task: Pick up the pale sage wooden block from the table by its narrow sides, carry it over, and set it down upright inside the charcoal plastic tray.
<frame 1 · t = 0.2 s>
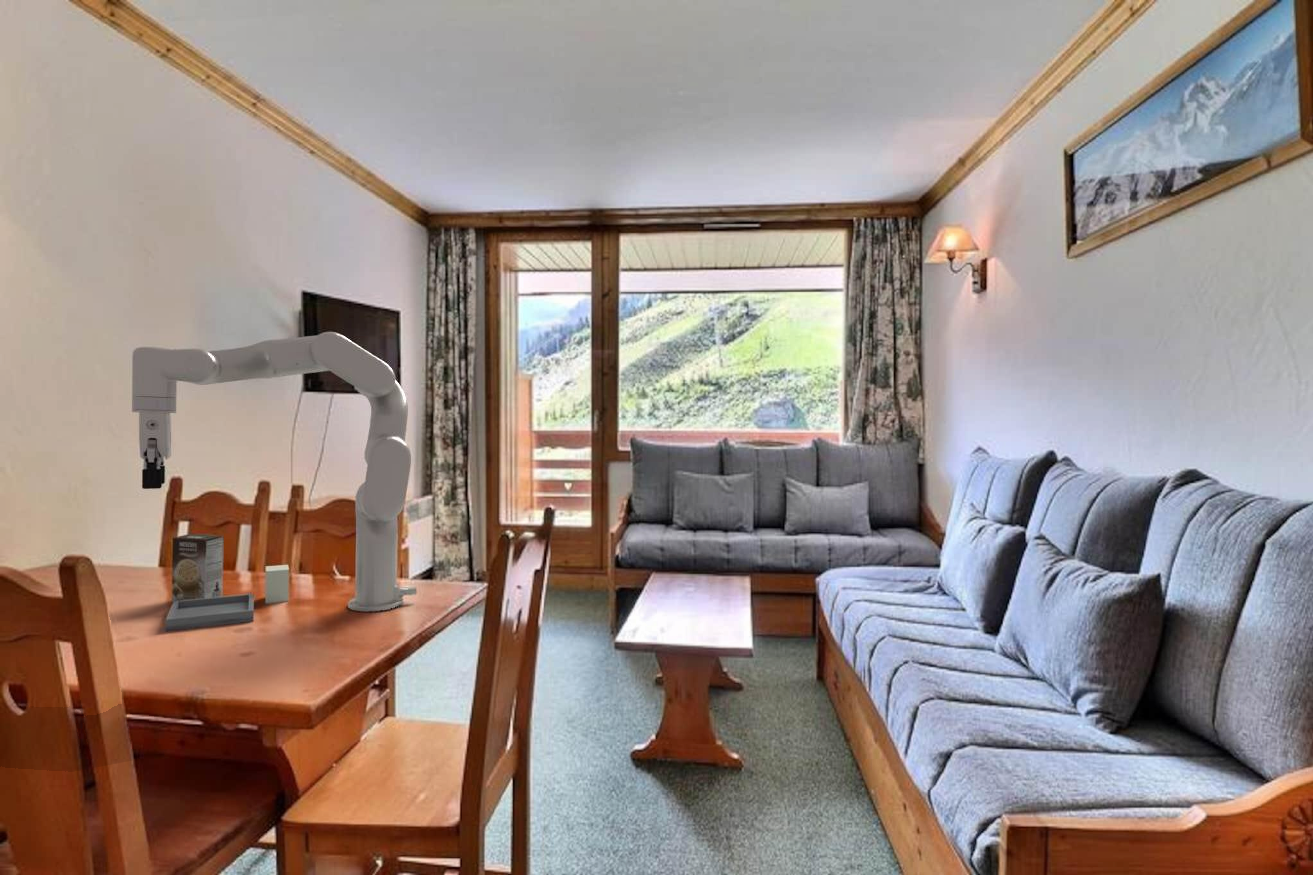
hand: (153, 486, 141), 31 cm above the table, tool pointing down, fingers open, 9 cm apart
tray: (212, 616, 152), on the table
sage block: (276, 599, 167), on the table
coffee box: (197, 601, 164), on the table
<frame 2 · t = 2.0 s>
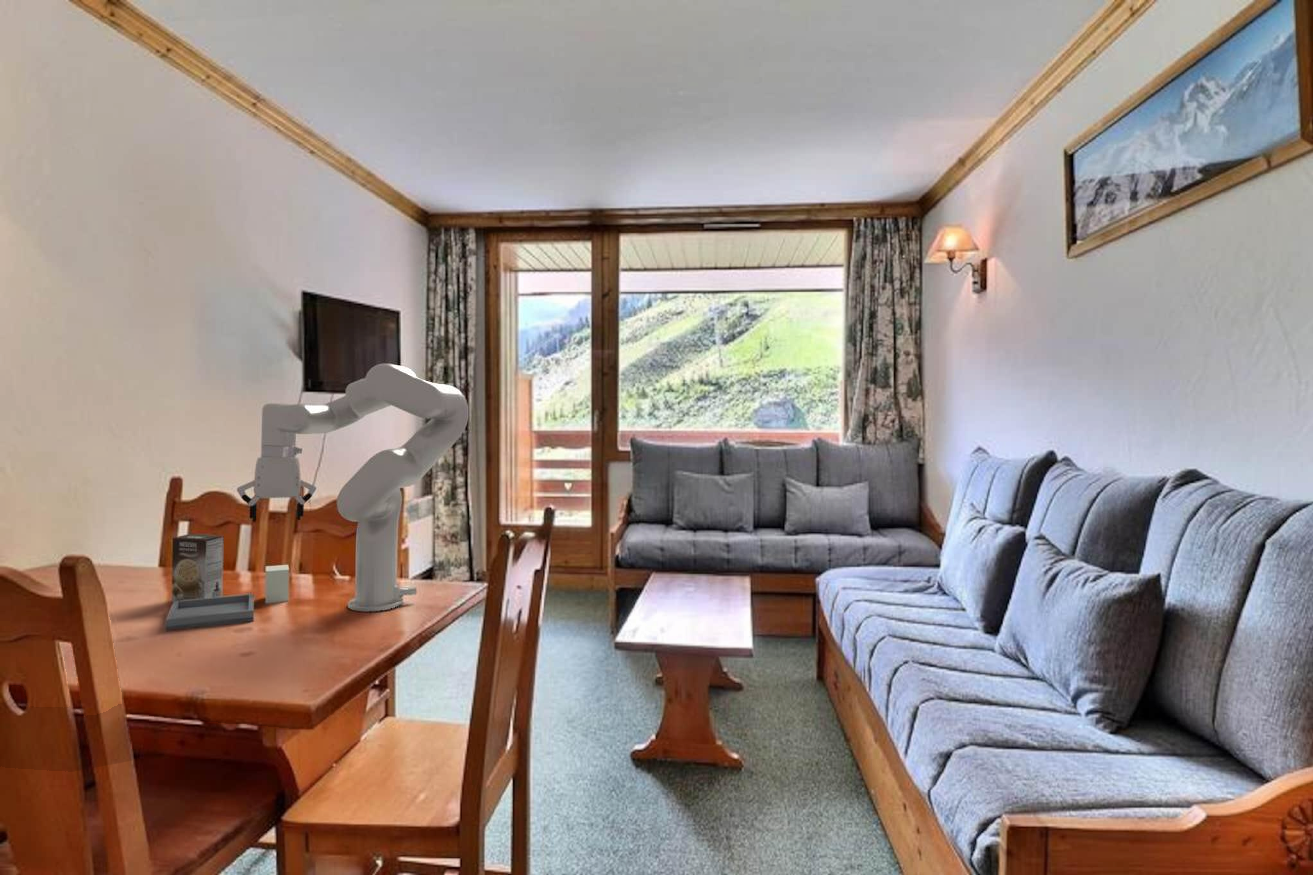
hand: (276, 520, 167), 20 cm above the table, tool pointing down, fingers open, 9 cm apart
nothing on the table moved.
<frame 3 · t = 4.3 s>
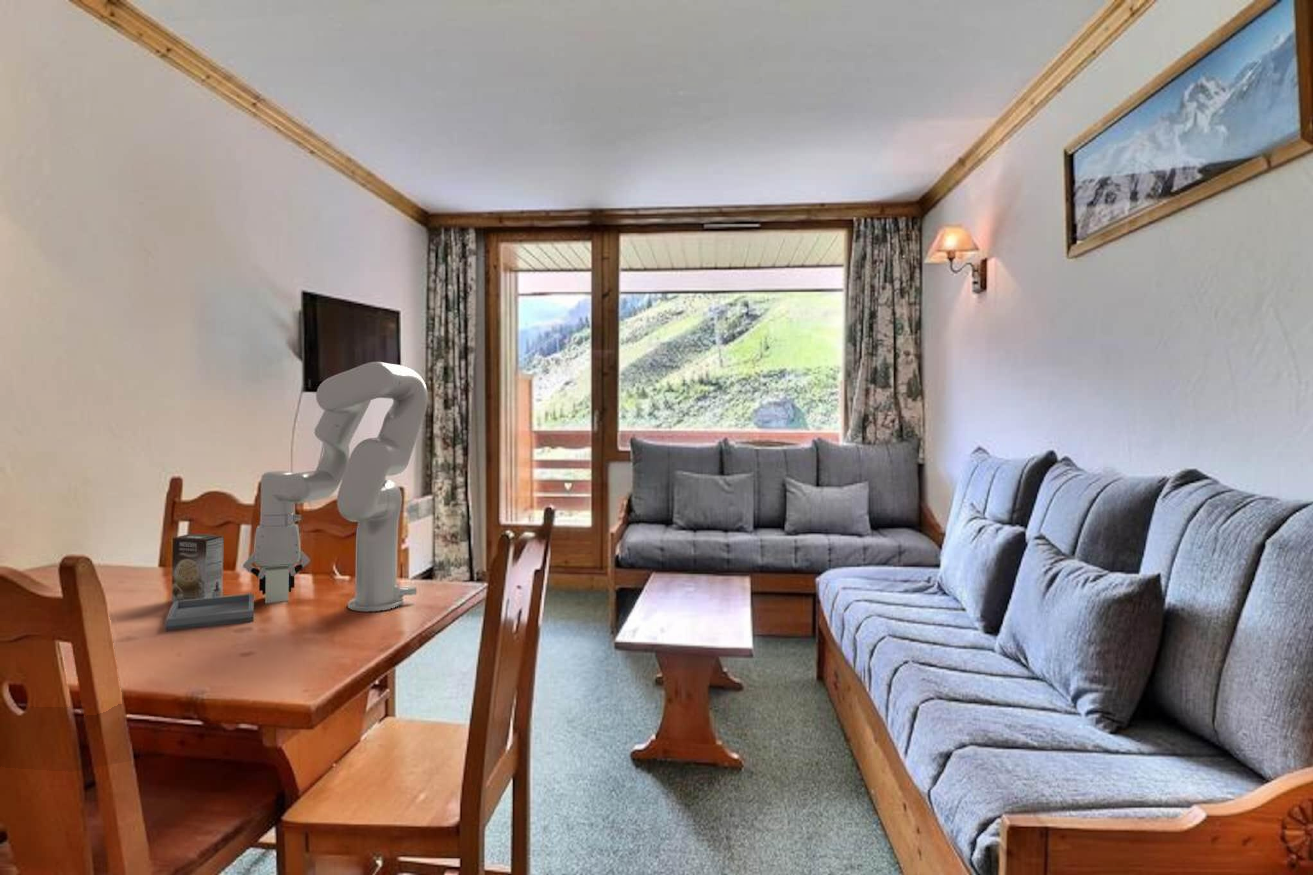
hand: (276, 591, 167), 2 cm above the table, tool pointing down, fingers closed on sage block, 5 cm apart
sage block: (276, 599, 167), on the table, touching gripper
everything else where it was.
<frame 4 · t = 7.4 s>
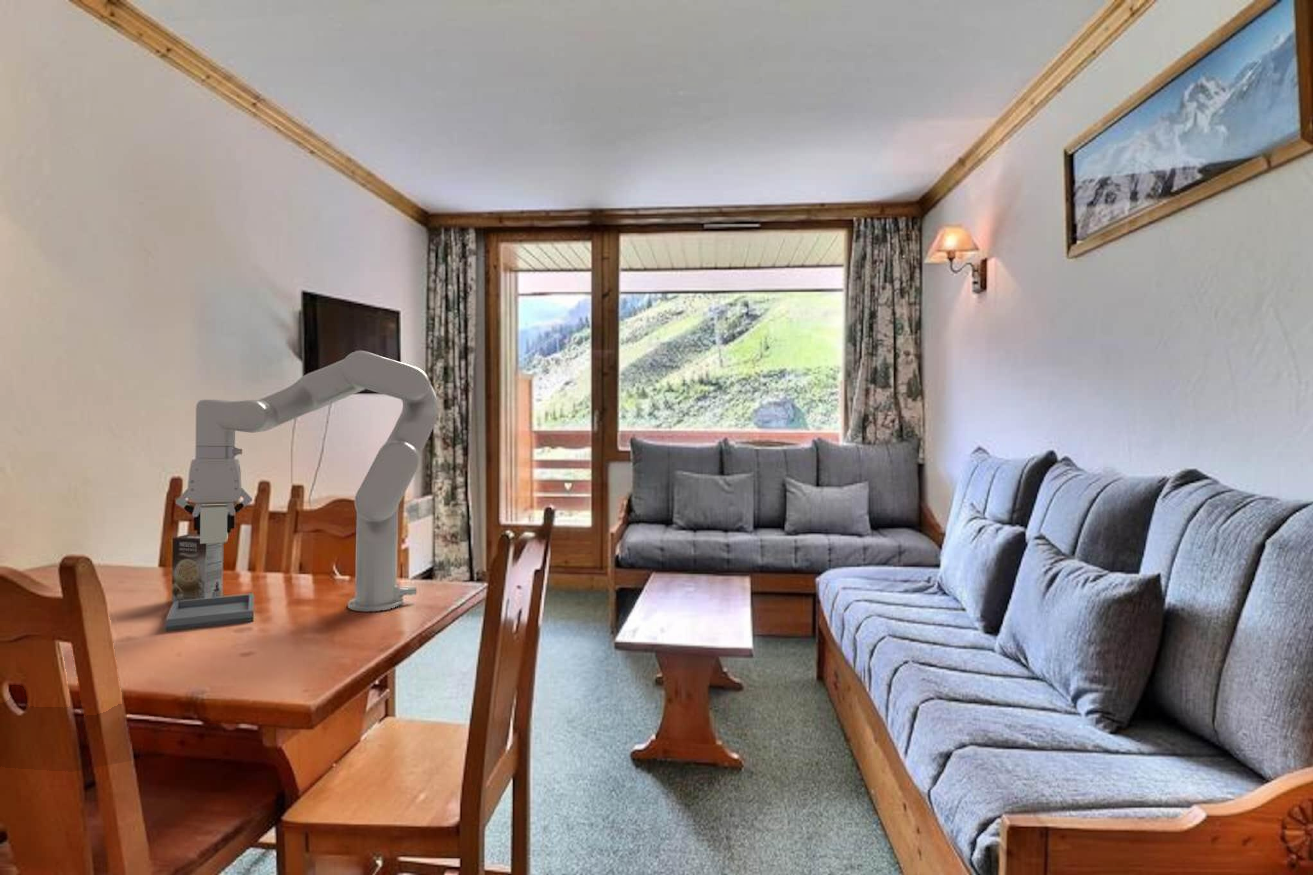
hand: (214, 532, 152), 19 cm above the table, tool pointing down, fingers closed on sage block, 5 cm apart
sage block: (214, 540, 152), point 17 cm above the table, touching gripper
everything else where it was.
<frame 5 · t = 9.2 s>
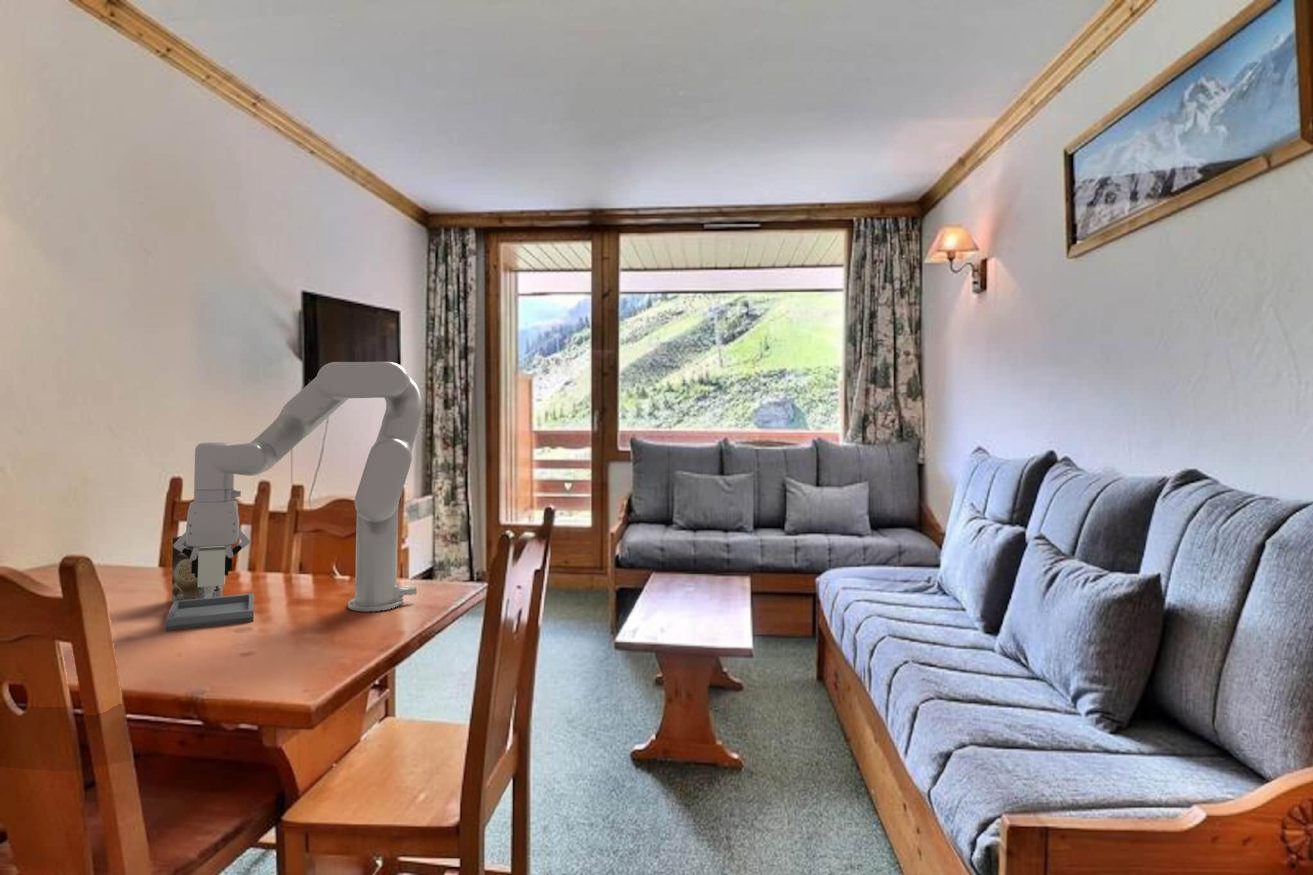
hand: (211, 574, 152), 10 cm above the table, tool pointing down, fingers closed on sage block, 5 cm apart
sage block: (211, 583, 152), point 8 cm above the table, touching gripper
everything else where it was.
when the fingers open (4 cm above the table, at t = 10.6 s): sage block drops 1 cm, resting on tray.
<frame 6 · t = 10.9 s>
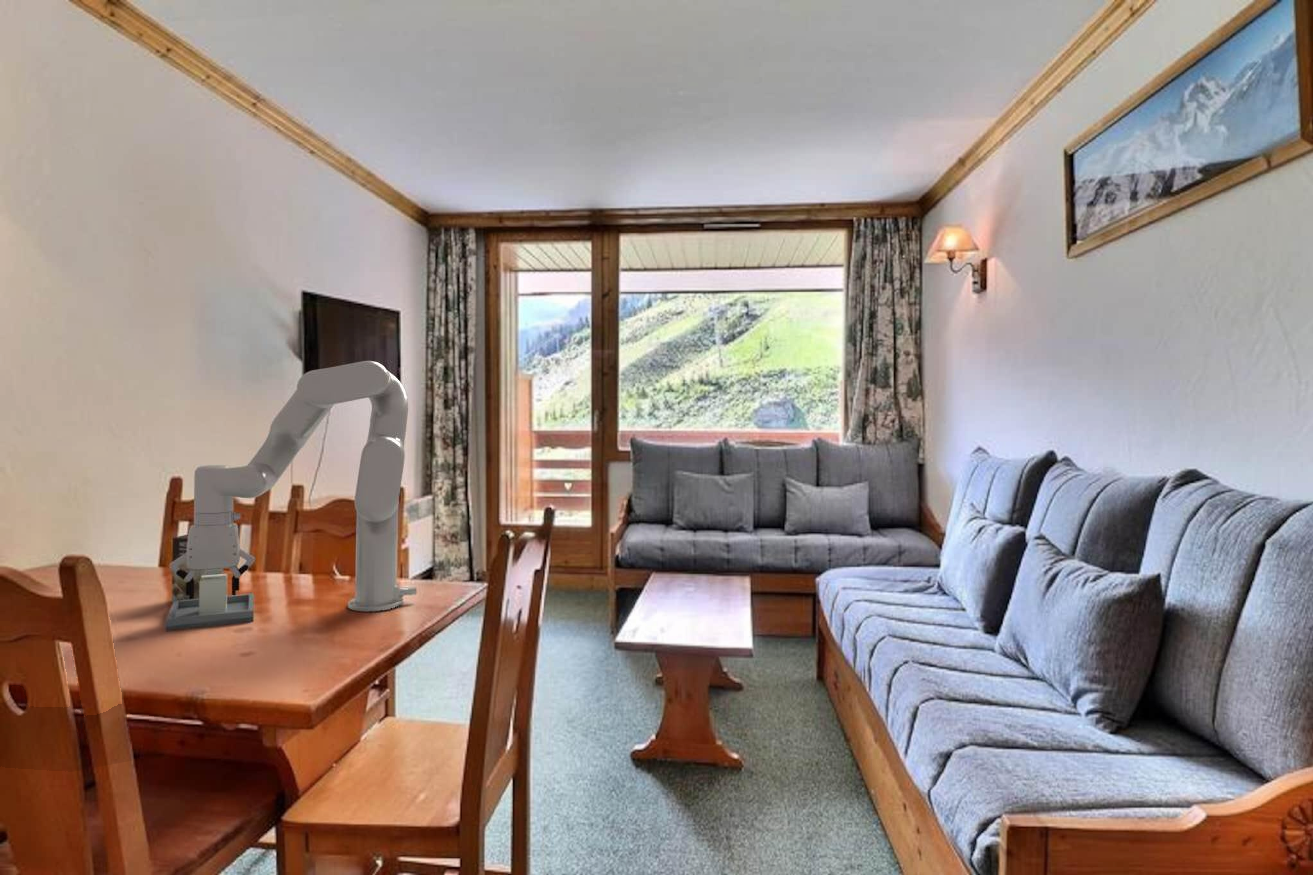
hand: (213, 595, 152), 5 cm above the table, tool pointing down, fingers open, 7 cm apart
sage block: (213, 611, 152), point 1 cm above the table, touching tray
everything else where it was.
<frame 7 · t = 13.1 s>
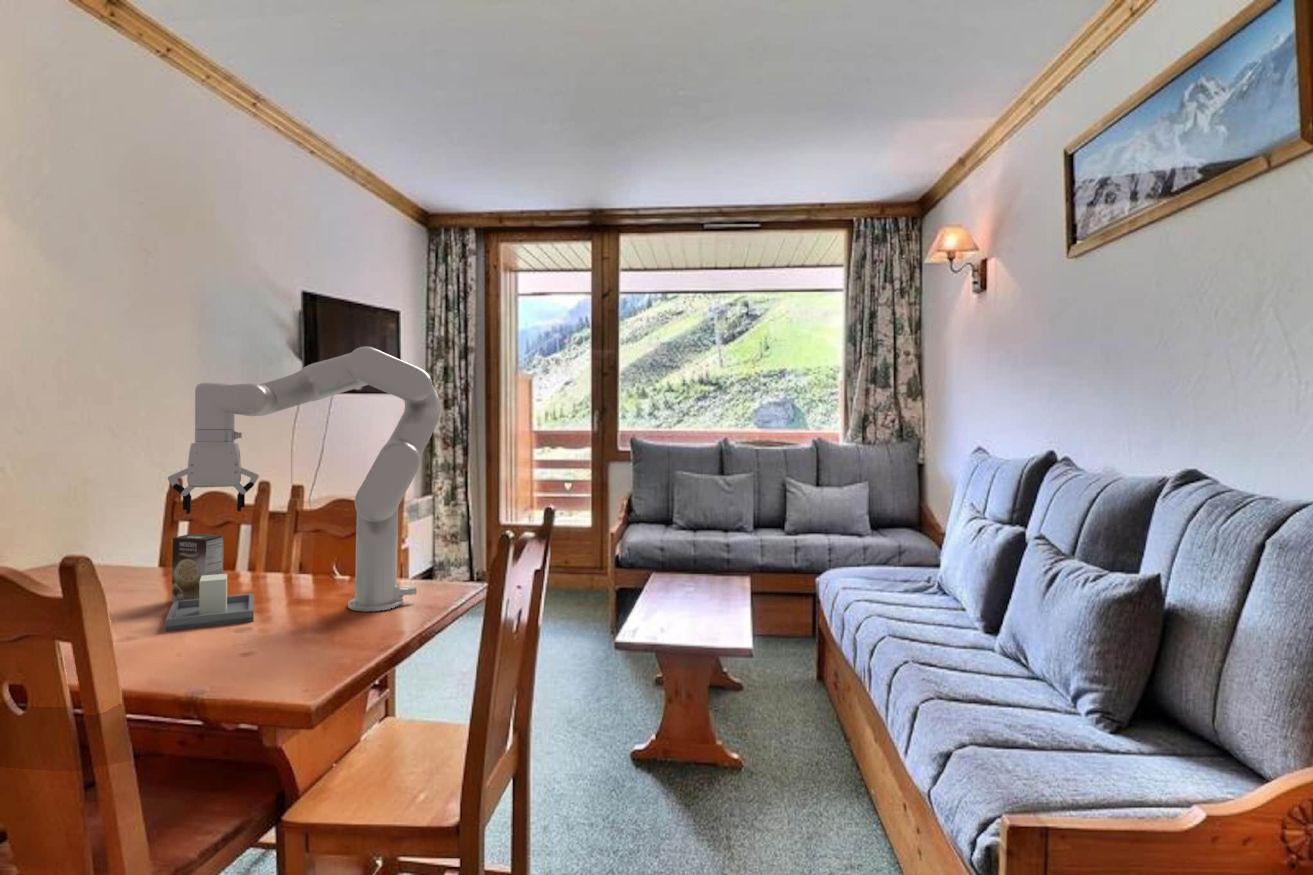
hand: (214, 511, 151), 24 cm above the table, tool pointing down, fingers open, 9 cm apart
nothing on the table moved.
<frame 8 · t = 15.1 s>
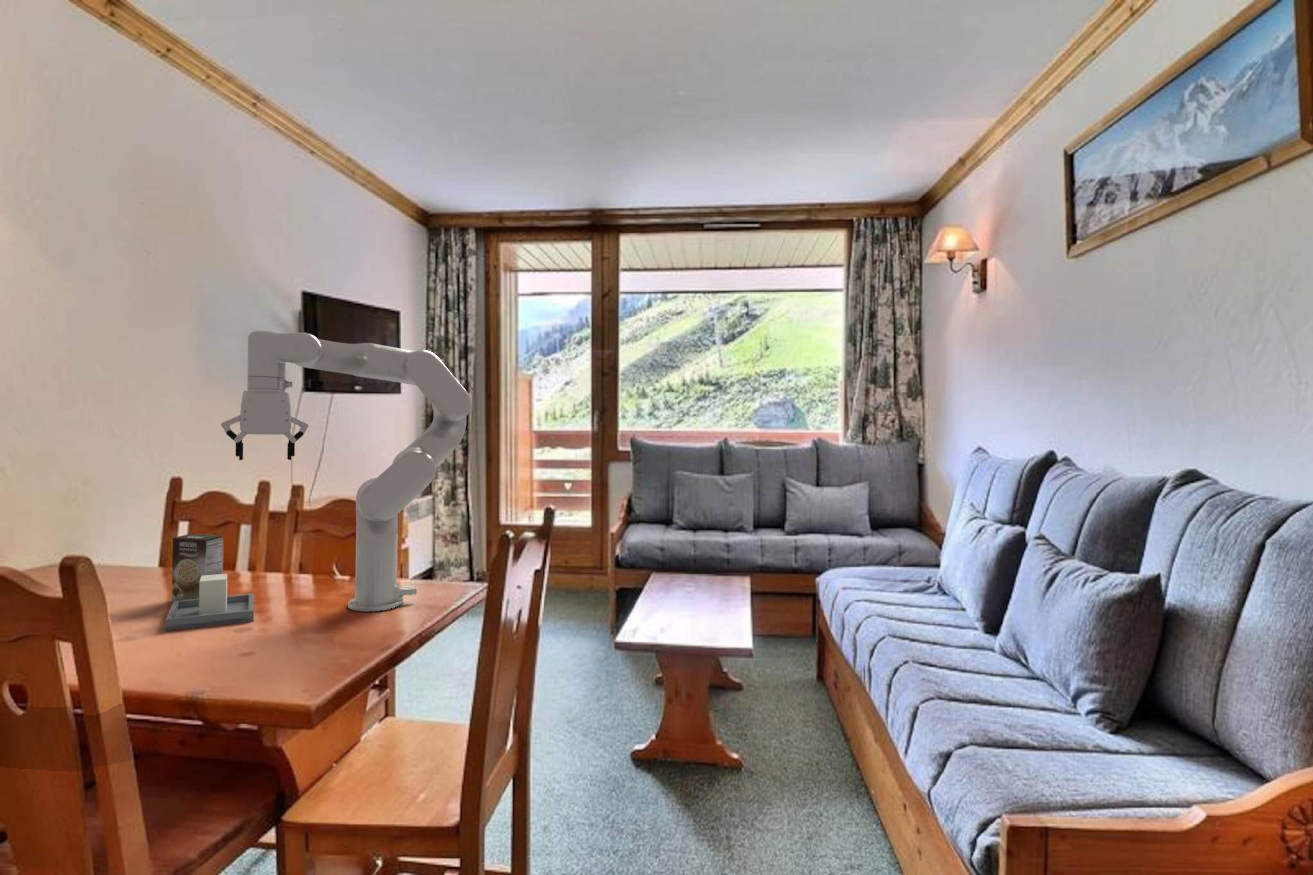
hand: (265, 459, 153), 36 cm above the table, tool pointing down, fingers open, 9 cm apart
nothing on the table moved.
at the end: sage block inside the target area on the tray (0.1 cm from its centre), point 1.0 cm above the tray's base; sage block tilted 0°; the gripper is holding nothing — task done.
